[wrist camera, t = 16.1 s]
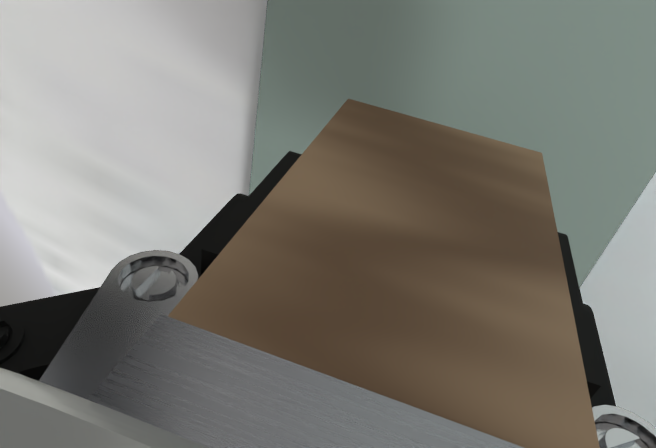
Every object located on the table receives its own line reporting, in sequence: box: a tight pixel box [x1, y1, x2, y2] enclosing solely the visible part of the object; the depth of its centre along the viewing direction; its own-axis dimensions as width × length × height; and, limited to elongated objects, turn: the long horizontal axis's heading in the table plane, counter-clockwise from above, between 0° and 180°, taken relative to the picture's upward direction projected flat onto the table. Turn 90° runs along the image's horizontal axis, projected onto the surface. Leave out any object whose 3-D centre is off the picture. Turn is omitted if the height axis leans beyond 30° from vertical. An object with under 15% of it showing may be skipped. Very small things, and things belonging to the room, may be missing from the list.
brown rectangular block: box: [88, 98, 600, 448], centre depth 8 cm, size 5×5×9 cm
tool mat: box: [249, 0, 656, 288], centre depth 15 cm, size 12×16×1 cm
